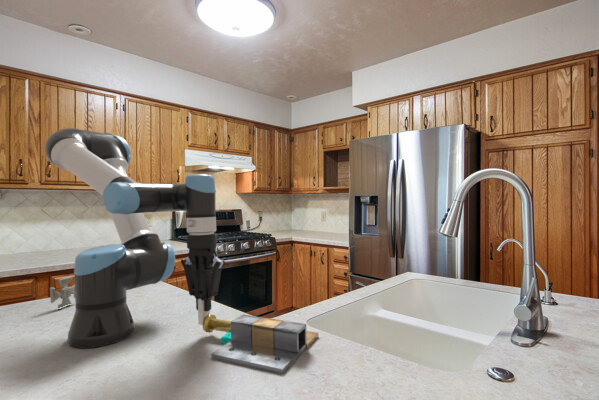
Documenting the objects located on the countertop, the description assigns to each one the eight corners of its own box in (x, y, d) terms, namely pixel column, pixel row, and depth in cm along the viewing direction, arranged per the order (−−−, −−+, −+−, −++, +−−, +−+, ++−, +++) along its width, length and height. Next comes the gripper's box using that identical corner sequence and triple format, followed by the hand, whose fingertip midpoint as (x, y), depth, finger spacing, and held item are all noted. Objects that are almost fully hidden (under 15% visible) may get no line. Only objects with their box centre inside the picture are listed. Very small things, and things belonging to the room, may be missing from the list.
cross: (54, 312, 109) (53, 281, 109) (47, 312, 110) (46, 281, 110) (81, 303, 119) (81, 274, 119) (75, 302, 120) (75, 274, 120)
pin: (202, 334, 87) (202, 317, 87) (213, 328, 91) (213, 312, 91) (271, 347, 79) (270, 328, 79) (279, 340, 83) (279, 322, 83)
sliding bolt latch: (211, 358, 76) (210, 332, 76) (258, 326, 94) (257, 305, 94) (282, 374, 69) (282, 345, 69) (318, 336, 87) (318, 314, 87)
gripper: (172, 234, 89) (174, 324, 89) (212, 235, 83) (214, 331, 83) (192, 231, 96) (194, 315, 96) (230, 232, 90) (233, 321, 90)
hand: (204, 322), depth 90 cm, fingers closed
